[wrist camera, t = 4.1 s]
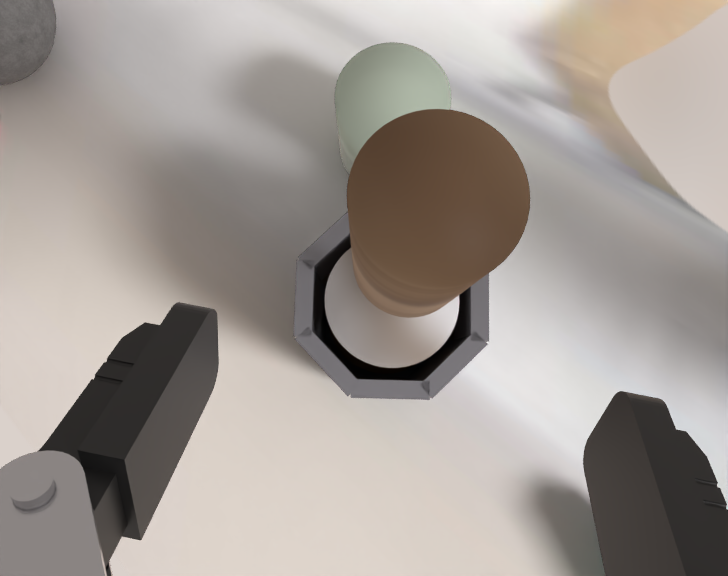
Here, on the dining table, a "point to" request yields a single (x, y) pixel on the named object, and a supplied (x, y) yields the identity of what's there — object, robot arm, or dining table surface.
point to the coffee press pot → (361, 375)
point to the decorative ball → (25, 37)
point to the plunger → (422, 232)
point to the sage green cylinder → (384, 92)
